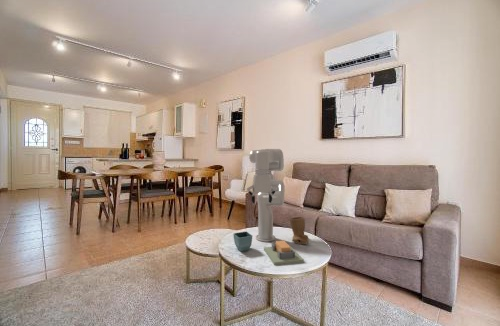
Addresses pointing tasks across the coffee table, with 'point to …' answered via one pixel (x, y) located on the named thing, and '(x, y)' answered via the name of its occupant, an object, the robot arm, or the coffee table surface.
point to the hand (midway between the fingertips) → (261, 202)
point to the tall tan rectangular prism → (282, 246)
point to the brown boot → (298, 230)
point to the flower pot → (242, 240)
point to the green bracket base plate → (283, 256)
